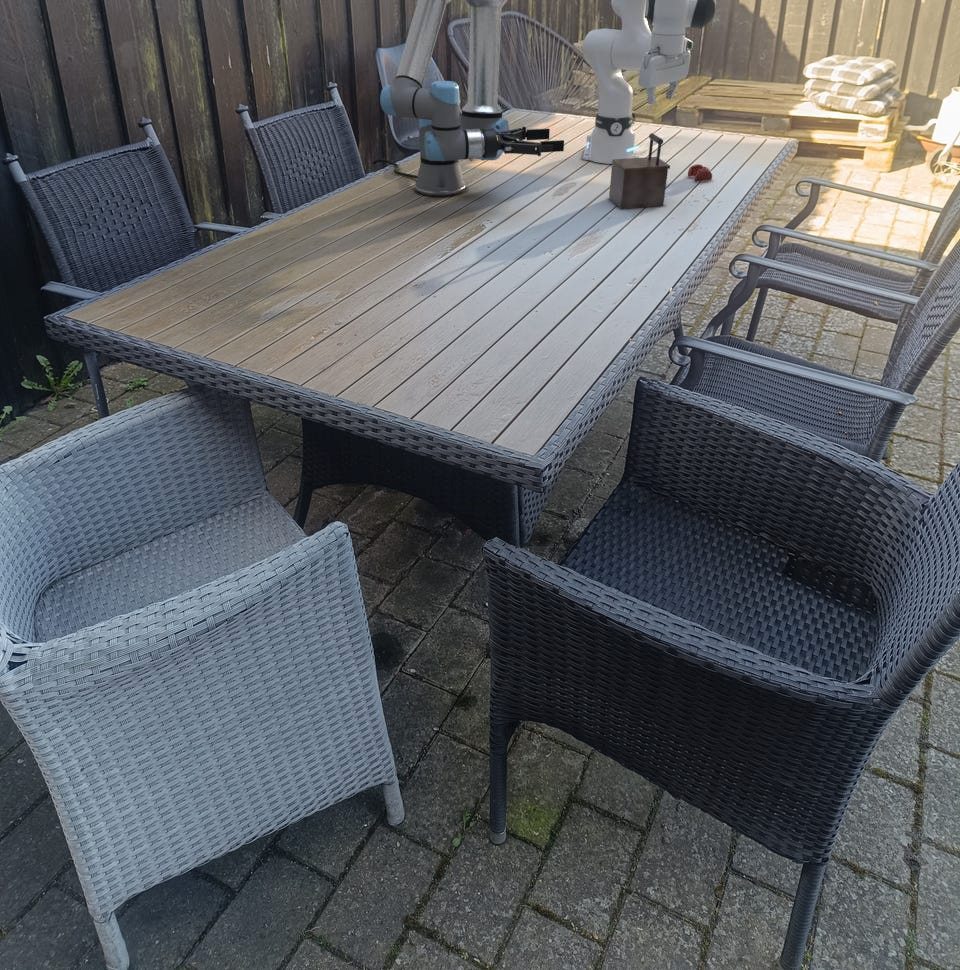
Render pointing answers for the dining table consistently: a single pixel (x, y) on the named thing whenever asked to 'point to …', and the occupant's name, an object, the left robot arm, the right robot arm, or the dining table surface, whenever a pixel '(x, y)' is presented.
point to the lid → (644, 159)
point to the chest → (637, 187)
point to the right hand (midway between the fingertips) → (660, 100)
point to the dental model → (700, 173)
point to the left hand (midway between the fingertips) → (556, 139)
